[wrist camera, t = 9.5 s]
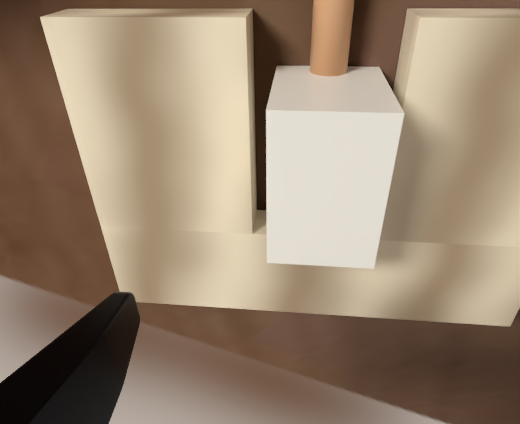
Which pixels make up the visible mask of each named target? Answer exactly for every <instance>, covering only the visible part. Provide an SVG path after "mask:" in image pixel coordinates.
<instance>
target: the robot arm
mask: <svg viewBox="0 0 520 424" xmlns="http://www.w3.org/2000/svg"><path fill="white" fill-rule="evenodd" d="M139 324H140V315H139V311H138V307H137V304H136V300H135V296H134V294H133V293H131V292H119V291H118V292H114V293H113V294H111V295H110V296H109V297H108V298H106V299H105V300H104V301H103V302H101V303H100V304H99V305H98V306H96V307H95V308H94V309H92V310H91V311H90V312H89V313H87V314H86V315H85V316H84V317H82V318H81V319H80V320H79V321H77V322H76V323H75V324H74V325H72V326H71V327H70V328H69V329H67V330H66V331H65V332H64V333H62V334H61V335H60V336H59V337H57V338H56V339H55V340H54V341H52V343H50V344H49V345H47V346H46V347H45V348H44V349H42V350H41V351H40V352H39V353H37V354H36V355H35V356H34V357H32V358H31V359H30V360H29V361H27V362H26V363H25V364H24V365H22V366H21V367H20V368H18V369H17V370H16V371H15V372H13V373H12V374H11V375H10V376H8V377H7V378H6V379H5V380H3V381H2V382H1V383H0V424H109V421H110V418H111V416H112V413H113V411H114V408H115V406H116V403H117V400H118V398H119V395H120V392H121V390H122V387H123V384H124V380H125V377H126V373H127V369H128V366H129V362H130V358H131V354H132V350H133V347H134V343H135V339H136V336H137V332H138V328H139Z"/></svg>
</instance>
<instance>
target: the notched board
mask: <svg viewBox="0 0 520 424" xmlns="http://www.w3.org/2000/svg"><path fill="white" fill-rule="evenodd" d="M40 19H41V23H42V26H43V30H44V33H45V37H46V40H47V43H48V47H49V50H50V54H51V57H52V61H53V64H54V67H55V71H56V74H57V78H58V81H59V85H60V88H61V91H62V95H63V98H64V102H65V105H66V109H67V112H68V115H69V119H70V122H71V126H72V129H73V133H74V136H75V139H76V143H77V146H78V150H79V153H80V157H81V160H82V163H83V167H84V170H85V174H86V177H87V181H88V184H89V187H90V191H91V194H92V198H93V201H94V205H95V208H96V211H97V215H98V218H99V222H100V225H101V228H102V232H103V235H104V239H105V242H106V246H107V249H108V252H109V256H110V259H111V263H112V266H113V270H114V273H115V276H116V280H117V283H118V287H119V290H120V292H131V293H133V294H134V296H135V300H136V302H146V303H161V304H176V305H191V306H206V307H221V308H236V309H252V310H267V311H282V312H297V313H312V314H327V315H342V316H357V317H373V318H388V319H403V320H418V321H433V322H448V323H463V324H478V325H494V326H509V327H510V326H511V324H512V322H513V320H514V318H515V316H516V314H517V312H518V310H519V308H520V8H425V9H407V14H406V20H405V26H404V32H403V37H402V43H401V49H400V55H399V60H398V66H397V72H396V78H395V83H394V89H393V93H394V95H395V97H396V98H397V100H398V102H399V104H400V106H401V108H402V110H403V111H404V118H403V123H402V129H401V134H400V139H399V144H398V149H397V154H396V159H395V164H394V169H393V174H392V180H391V185H390V190H389V195H388V200H387V205H386V210H385V215H384V220H383V225H382V230H381V236H380V241H379V246H378V251H377V256H376V261H375V266H374V269H367V268H350V267H332V266H314V265H296V264H278V263H267V223H266V210H257V189H256V142H255V95H254V48H253V9H66V10H62V11H59V12H55V13H52V14H49V15H45V16H42V17H40Z"/></svg>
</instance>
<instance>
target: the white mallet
mask: <svg viewBox="0 0 520 424" xmlns="http://www.w3.org/2000/svg"><path fill="white" fill-rule="evenodd" d="M354 1H355V0H314V1H313V19H312V37H311V55H310V66H277V67H276V71H275V75H274V79H273V83H272V87H271V91H270V95H269V100H268V104H267V108H266V223H267V263H278V264H296V265H314V266H332V267H350V268H367V269H374V266H375V261H376V256H377V251H378V246H379V241H380V236H381V230H382V225H383V220H384V215H385V210H386V205H387V200H388V195H389V190H390V185H391V180H392V174H393V169H394V164H395V159H396V154H397V149H398V144H399V139H400V134H401V129H402V123H403V118H404V111H403V110H402V108H401V106H400V104H399V102H398V100H397V98H396V97H395V95H394V93H393V91H392V89H391V87H390V86H389V84H388V82H387V80H386V78H385V76H384V75H383V73H382V71H381V69H380V67H348V57H349V48H350V38H351V29H352V19H353V10H354Z"/></svg>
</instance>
